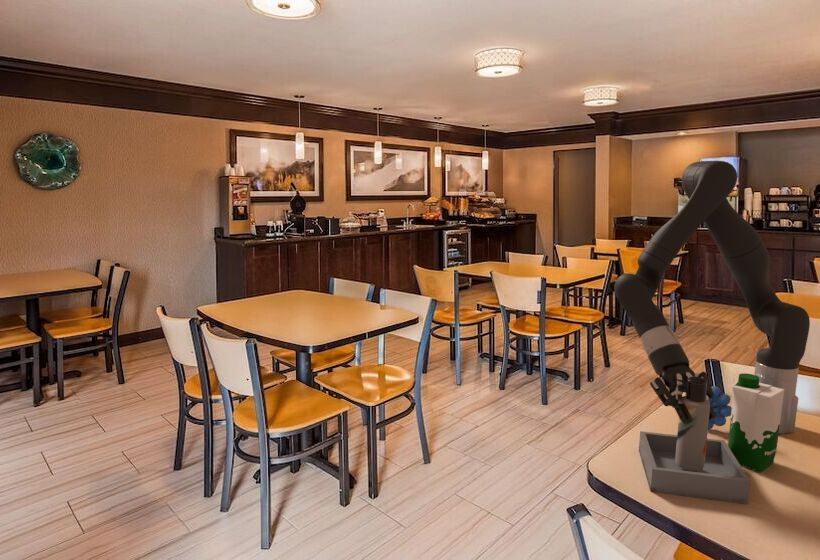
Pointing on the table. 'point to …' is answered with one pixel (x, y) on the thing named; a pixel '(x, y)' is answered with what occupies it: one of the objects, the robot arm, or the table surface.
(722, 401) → the grapes
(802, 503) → the table surface
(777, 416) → the milk carton
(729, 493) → the bin
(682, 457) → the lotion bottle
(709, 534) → the table surface
